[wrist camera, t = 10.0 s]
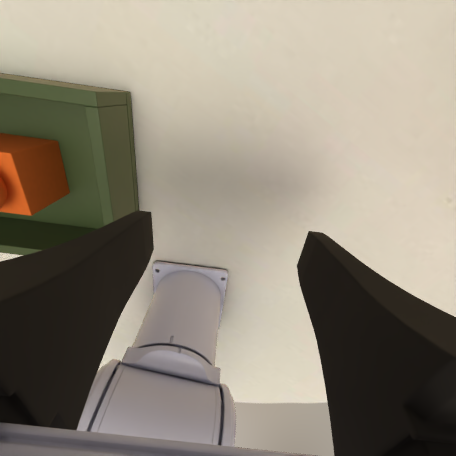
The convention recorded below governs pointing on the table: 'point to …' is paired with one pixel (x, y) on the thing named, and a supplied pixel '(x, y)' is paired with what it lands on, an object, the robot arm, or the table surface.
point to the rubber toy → (30, 174)
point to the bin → (71, 158)
